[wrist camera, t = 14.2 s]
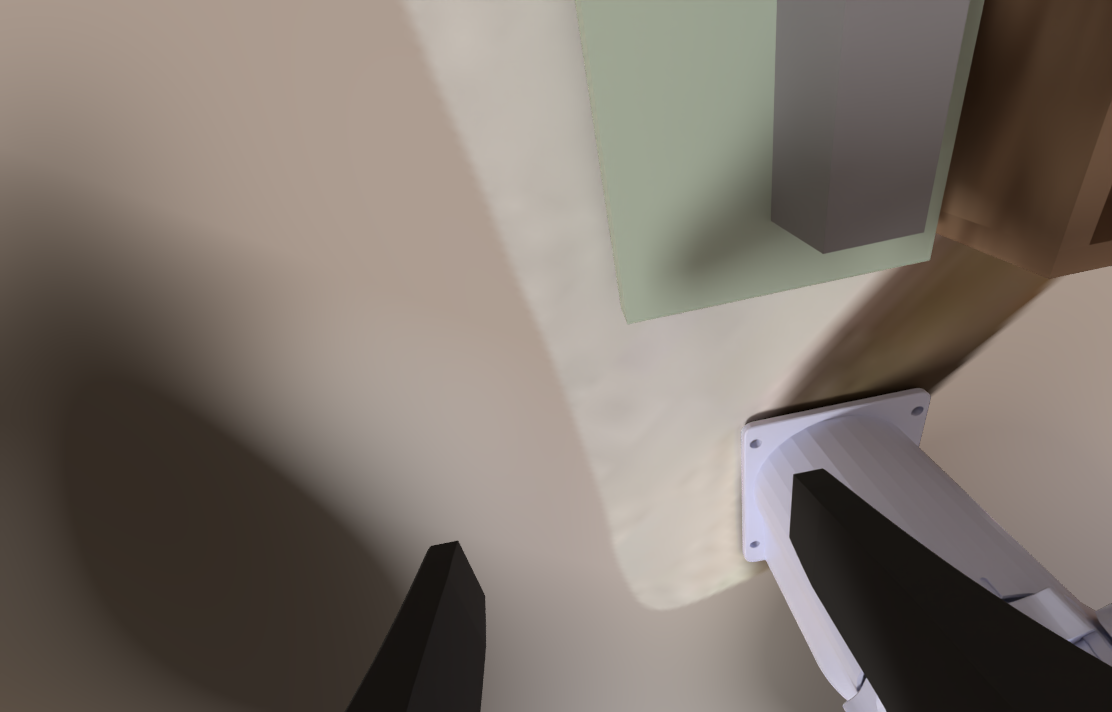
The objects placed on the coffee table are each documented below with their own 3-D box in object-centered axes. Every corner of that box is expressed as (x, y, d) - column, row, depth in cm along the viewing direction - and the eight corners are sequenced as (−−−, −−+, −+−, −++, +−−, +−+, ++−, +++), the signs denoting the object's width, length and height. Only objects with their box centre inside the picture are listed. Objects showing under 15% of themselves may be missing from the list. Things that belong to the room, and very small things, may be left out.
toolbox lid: (886, 239, 18) (1009, 298, 13) (616, 297, 18) (647, 372, 14) (983, -383, 10) (1326, -711, 6) (531, -257, 11) (538, -473, 7)
